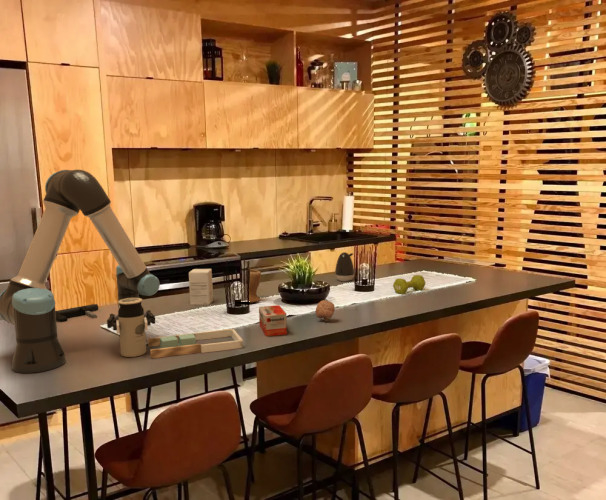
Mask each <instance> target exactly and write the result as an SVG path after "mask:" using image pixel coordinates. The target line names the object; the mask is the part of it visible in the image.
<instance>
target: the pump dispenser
mask: <svg viewBox="0 0 606 500" xmlns="http://www.w3.org/2000/svg"><path fill="white" fill-rule="evenodd" d="M353 255H354V254H353V252H351V253H348V252H341V253H340V254H339V255H338V258H337V260H336V264H335V269H334V274H335V277H336V278H337V280H338V281H340V282H350V281H352V279H354V275H355V267H354V263H353V260H352V256H353Z"/></svg>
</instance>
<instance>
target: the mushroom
mask: <svg viewBox="0 0 606 500" xmlns="http://www.w3.org/2000/svg"><path fill="white" fill-rule="evenodd" d="M335 310H336V308H335V304H334V303H333V302H332V301H329V300H325V299H324V300H321V301H319V302H318V303H317V305H316V308H315V316H316V317H317V318H318V319H323V320H324V321H325V322H326V323H327V322H328V320H329V319H331V318H332V317H333V315H334V313H335Z"/></svg>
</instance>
